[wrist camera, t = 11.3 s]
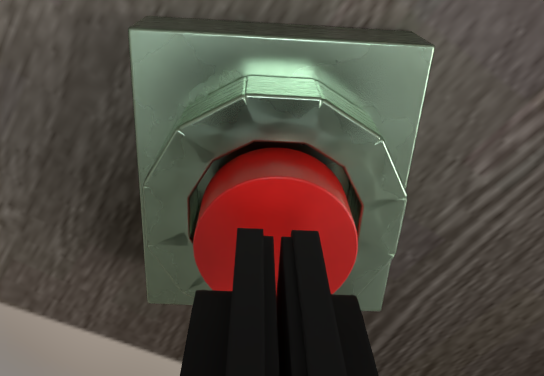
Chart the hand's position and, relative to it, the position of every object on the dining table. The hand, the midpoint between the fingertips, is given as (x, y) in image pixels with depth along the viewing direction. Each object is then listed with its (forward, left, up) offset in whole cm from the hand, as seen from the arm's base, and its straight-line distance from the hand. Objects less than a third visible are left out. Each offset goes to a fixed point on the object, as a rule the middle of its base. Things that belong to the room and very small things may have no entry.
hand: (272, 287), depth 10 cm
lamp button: (0, 0, -3) cm, 3 cm away
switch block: (0, 0, -7) cm, 7 cm away
